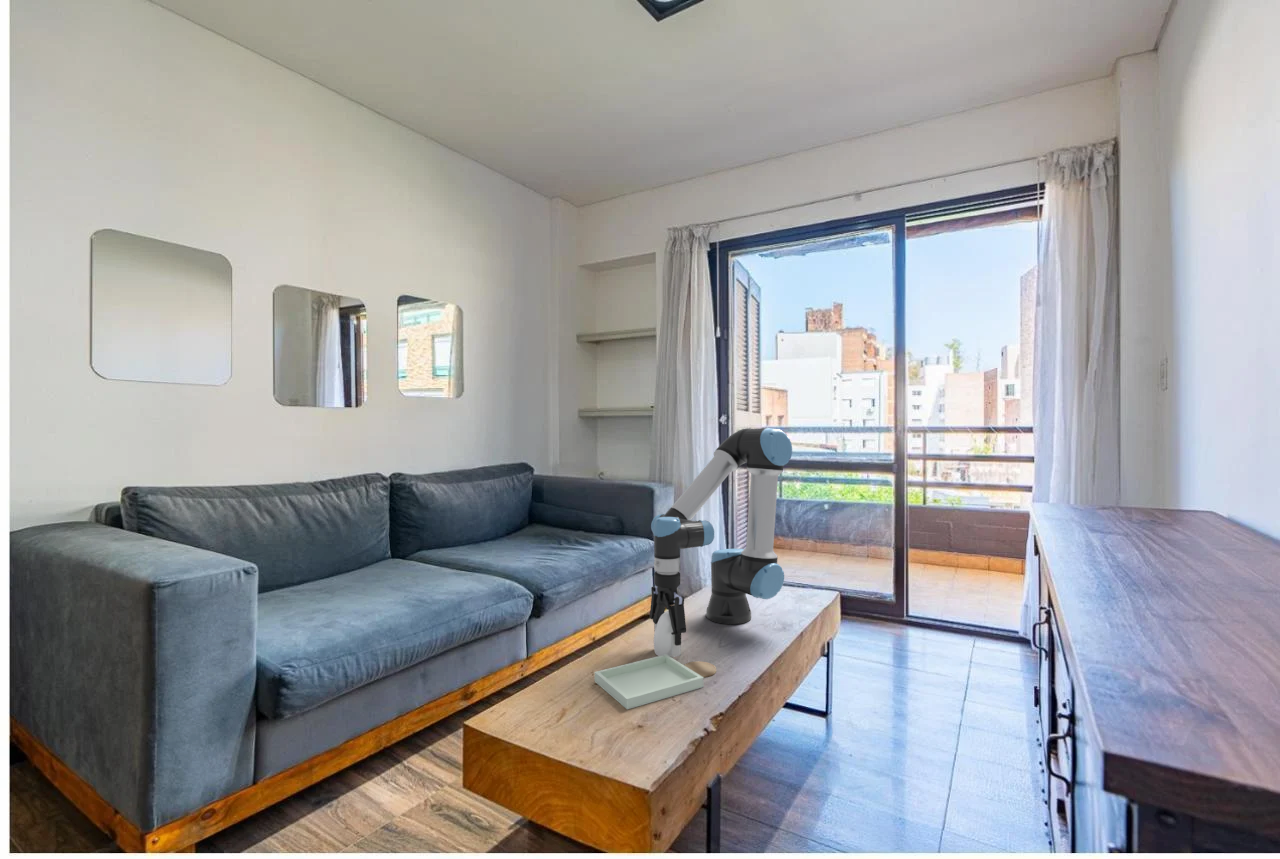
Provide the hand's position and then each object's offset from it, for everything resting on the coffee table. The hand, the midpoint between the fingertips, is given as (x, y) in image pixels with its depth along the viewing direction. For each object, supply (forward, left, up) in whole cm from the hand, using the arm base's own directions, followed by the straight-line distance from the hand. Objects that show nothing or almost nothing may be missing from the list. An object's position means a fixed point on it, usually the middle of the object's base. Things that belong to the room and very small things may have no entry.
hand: (667, 650), depth 164 cm
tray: (+15, +14, -1) cm, 20 cm away
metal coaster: (-1, +14, -1) cm, 14 cm away
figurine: (0, 0, -1) cm, 1 cm away
